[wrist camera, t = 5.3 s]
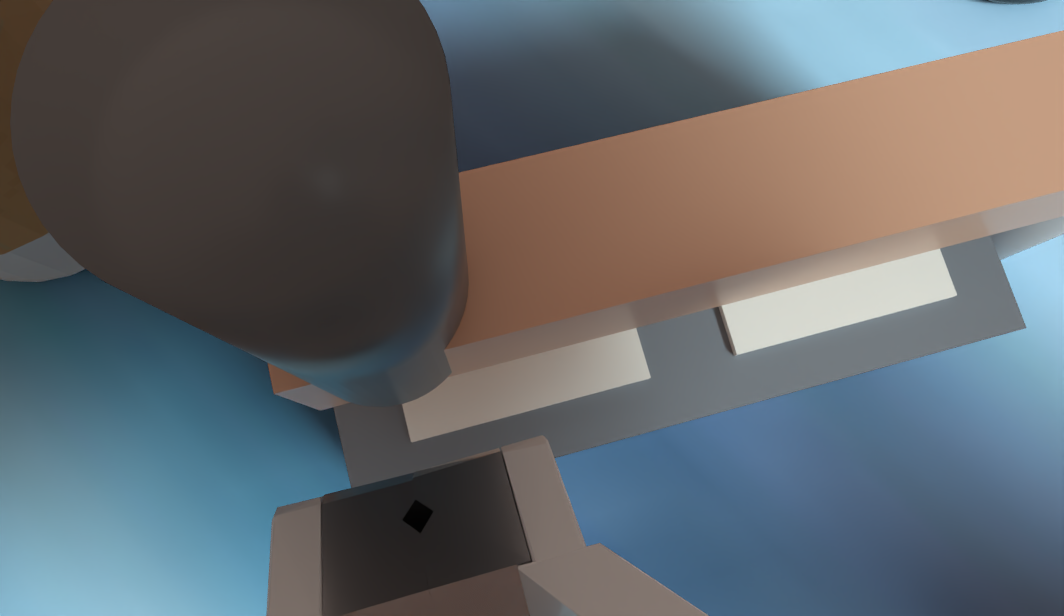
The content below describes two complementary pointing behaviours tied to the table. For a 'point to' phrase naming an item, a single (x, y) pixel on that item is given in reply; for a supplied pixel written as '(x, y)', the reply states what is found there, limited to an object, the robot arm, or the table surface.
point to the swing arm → (479, 187)
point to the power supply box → (700, 361)
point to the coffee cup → (3, 208)
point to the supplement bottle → (1017, 1)
